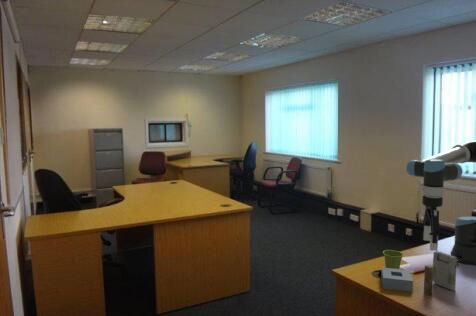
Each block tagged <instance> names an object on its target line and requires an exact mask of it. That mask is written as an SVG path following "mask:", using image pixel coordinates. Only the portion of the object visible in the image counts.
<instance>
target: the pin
mask: <svg viewBox="0 0 476 316" xmlns="http://www.w3.org/2000/svg"><path fill="white" fill-rule="evenodd" d="M423 274H424V277H423V279H424V280H423V294H424V295H426V296H432V295H433V284H434V282H433V265H432V266H431V265H424V273H423Z"/></svg>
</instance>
